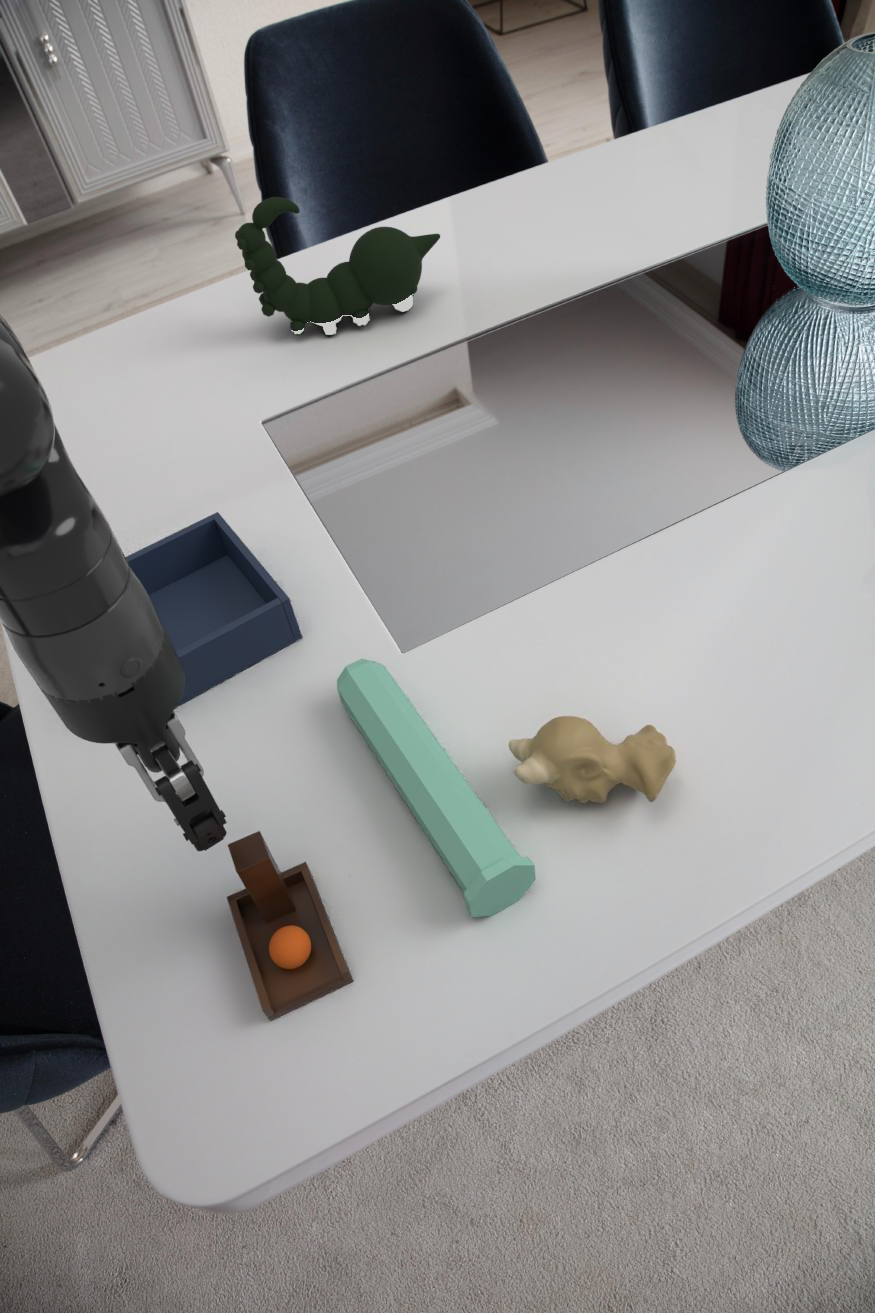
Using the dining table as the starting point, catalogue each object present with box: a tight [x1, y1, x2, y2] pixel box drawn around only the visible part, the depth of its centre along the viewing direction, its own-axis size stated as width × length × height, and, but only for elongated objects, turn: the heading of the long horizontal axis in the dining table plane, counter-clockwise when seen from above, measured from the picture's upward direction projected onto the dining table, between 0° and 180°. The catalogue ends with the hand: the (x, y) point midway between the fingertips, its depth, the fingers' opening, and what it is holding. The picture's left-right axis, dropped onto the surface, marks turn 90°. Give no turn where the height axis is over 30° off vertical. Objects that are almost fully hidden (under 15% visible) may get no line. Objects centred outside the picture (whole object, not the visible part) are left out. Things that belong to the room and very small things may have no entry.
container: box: [336, 658, 536, 918], centre depth 75 cm, size 6×6×25 cm
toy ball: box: [269, 925, 311, 969], centre depth 67 cm, size 3×3×3 cm
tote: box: [125, 511, 303, 708], centre depth 89 cm, size 16×16×6 cm
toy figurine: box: [234, 196, 441, 331], centre depth 118 cm, size 9×19×25 cm
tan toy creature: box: [508, 715, 677, 804], centre depth 72 cm, size 8×7×12 cm
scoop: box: [226, 830, 354, 1022], centre depth 65 cm, size 10×6×9 cm
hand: (184, 798), depth 64 cm, fingers open, 8 cm apart
